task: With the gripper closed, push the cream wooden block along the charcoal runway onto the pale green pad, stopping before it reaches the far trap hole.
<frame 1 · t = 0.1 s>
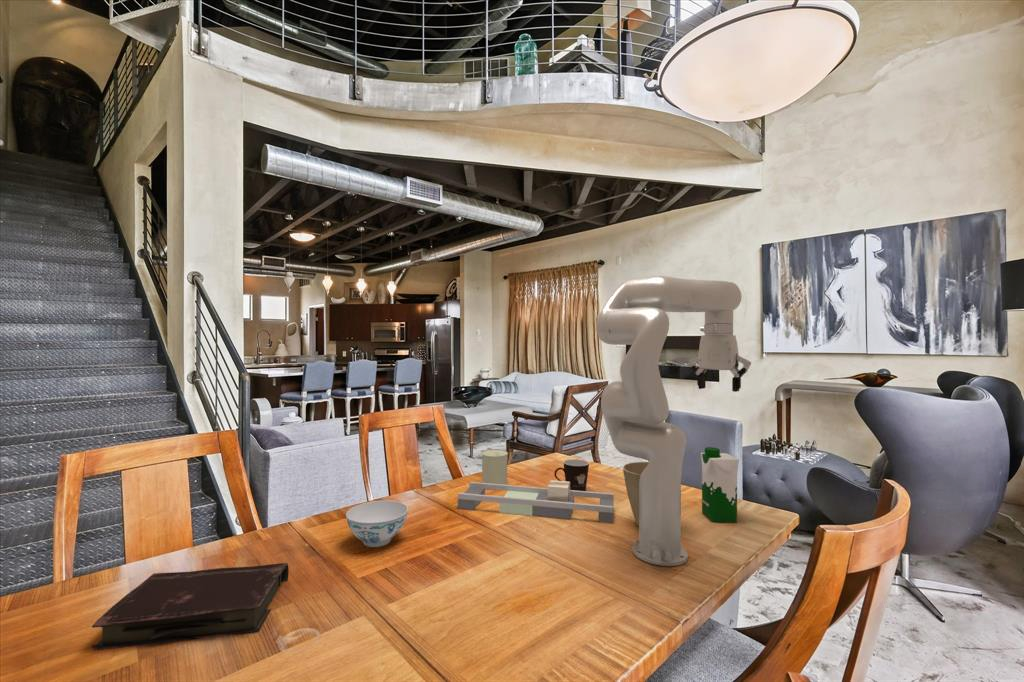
hand: (718, 389, 130), 37 cm above the table, tool pointing down, fingers open, 9 cm apart
diary: (201, 615, 84), on the table
milk carton: (719, 518, 131), on the table
coffee mug: (571, 492, 153), on the table
plant pot: (650, 526, 125), on the table
chinaware: (377, 542, 114), on the table
can: (494, 486, 159), on the table
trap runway: (535, 508, 137), on the table
block: (558, 500, 136), point 3 cm above the table, touching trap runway
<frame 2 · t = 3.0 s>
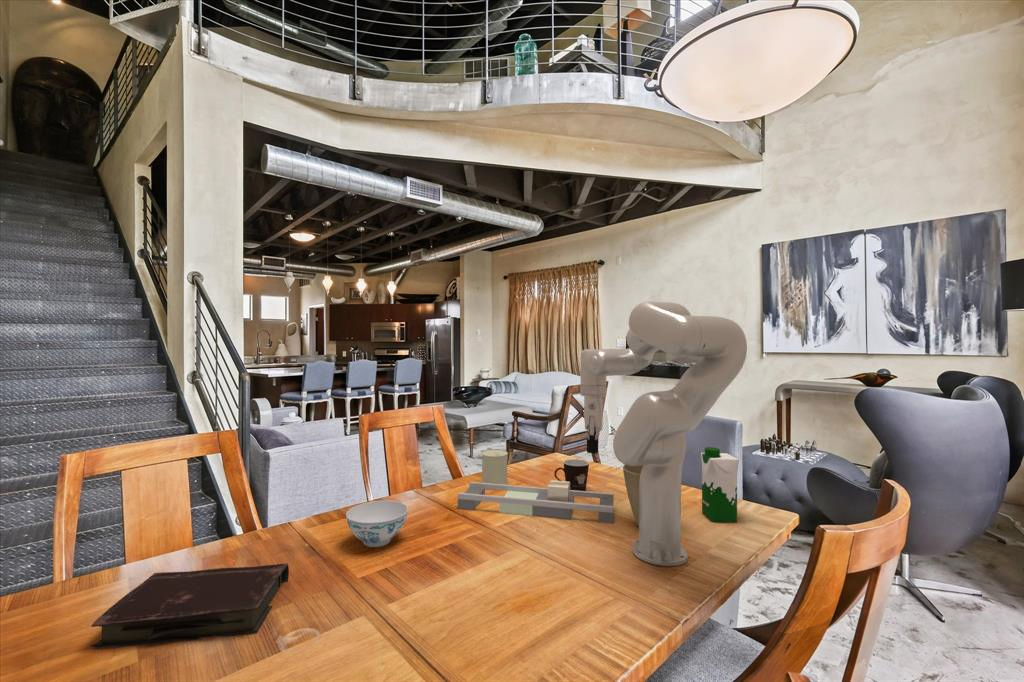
hand: (592, 452, 134), 18 cm above the table, tool pointing down, fingers closed
nothing on the table moved.
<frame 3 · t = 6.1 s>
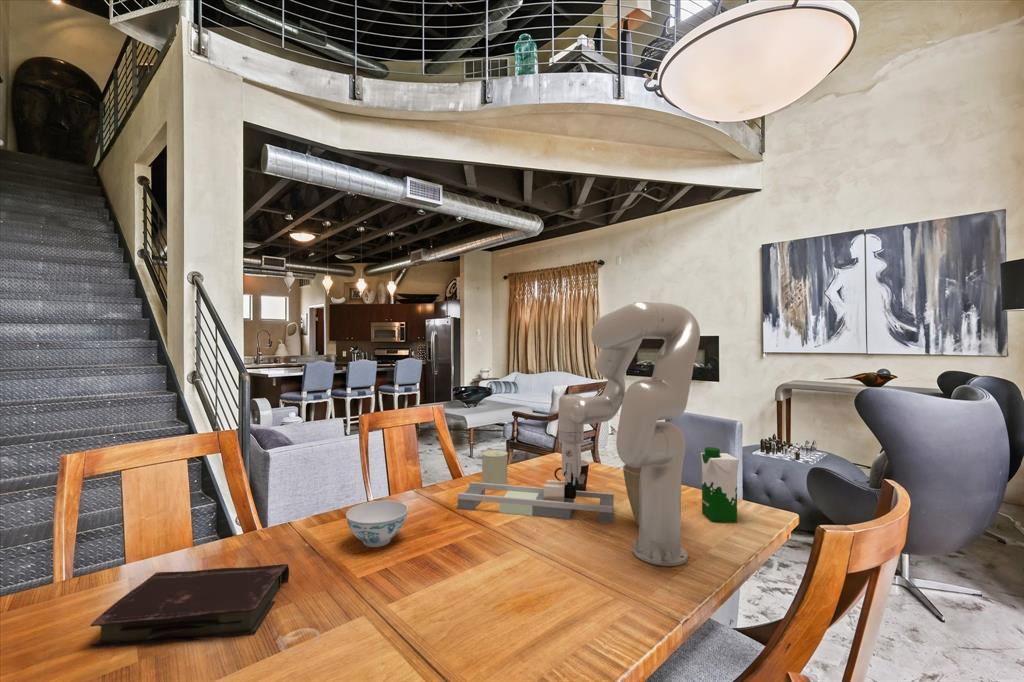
hand: (570, 497, 135), 4 cm above the table, tool pointing down, fingers closed
block: (555, 500, 136), point 3 cm above the table
everything else where it was.
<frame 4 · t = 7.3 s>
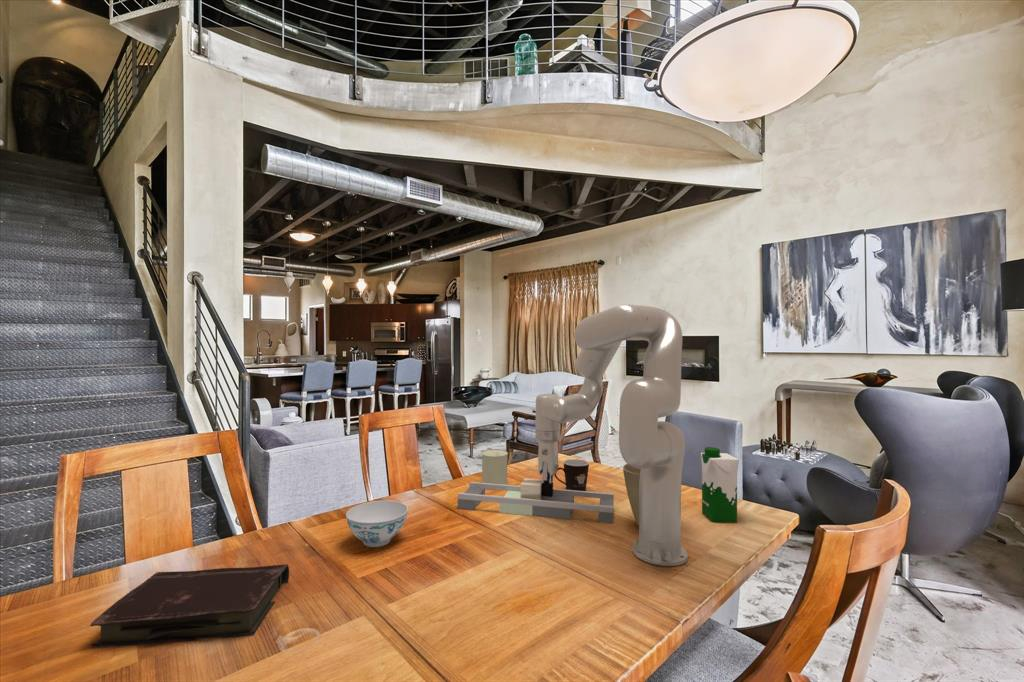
hand: (547, 495, 136), 4 cm above the table, tool pointing down, fingers closed
block: (532, 498, 137), point 3 cm above the table, touching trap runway
everything else where it was.
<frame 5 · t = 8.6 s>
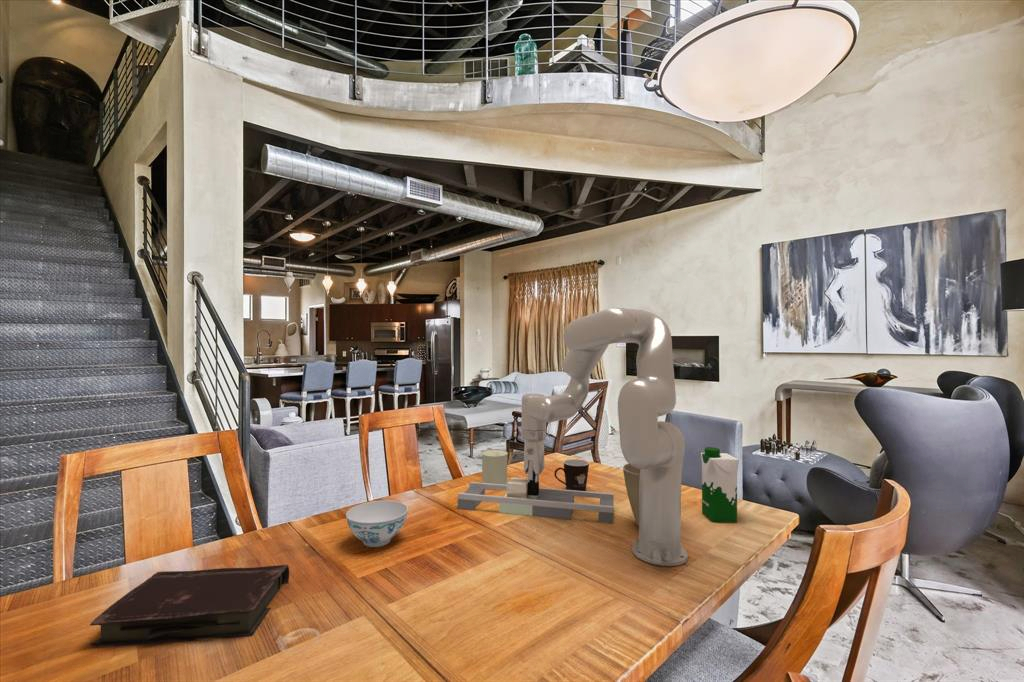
hand: (533, 494, 137), 4 cm above the table, tool pointing down, fingers closed
block: (518, 497, 138), point 3 cm above the table, touching gripper, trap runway
everything else where it was.
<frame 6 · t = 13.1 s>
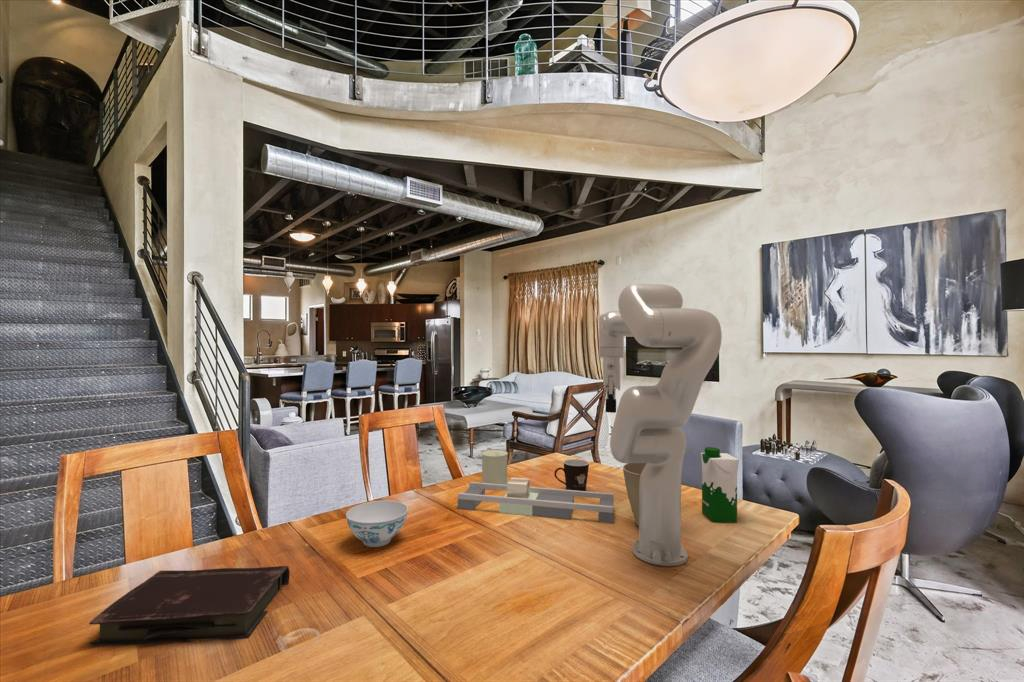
hand: (610, 412, 140), 29 cm above the table, tool pointing down, fingers closed
block: (518, 497, 138), point 3 cm above the table, touching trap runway
everything else where it was.
at the end: block inside the target area on the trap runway (0.4 cm from its centre), point 3.0 cm above the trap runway's base; block tilted 0° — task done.
